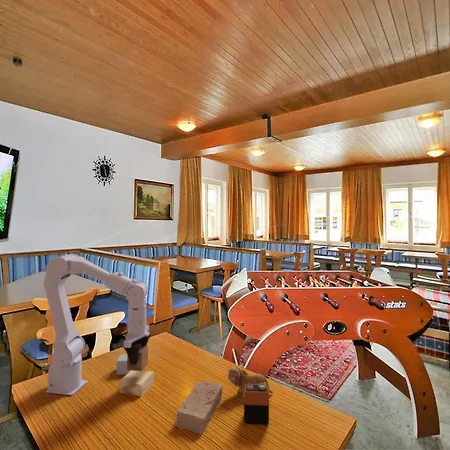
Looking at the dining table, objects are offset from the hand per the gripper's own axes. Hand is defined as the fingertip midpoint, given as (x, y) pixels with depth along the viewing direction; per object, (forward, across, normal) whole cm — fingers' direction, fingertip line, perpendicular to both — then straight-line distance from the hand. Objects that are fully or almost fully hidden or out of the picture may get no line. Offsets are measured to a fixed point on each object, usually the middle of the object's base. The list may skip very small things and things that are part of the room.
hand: (137, 359), depth 96 cm
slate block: (+9, +9, +9) cm, 16 cm away
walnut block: (+2, 0, 0) cm, 2 cm away
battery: (+10, -9, -40) cm, 42 cm away
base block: (+10, 0, 0) cm, 10 cm away
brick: (+10, -8, -24) cm, 27 cm away
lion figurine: (+10, +2, -37) cm, 38 cm away
